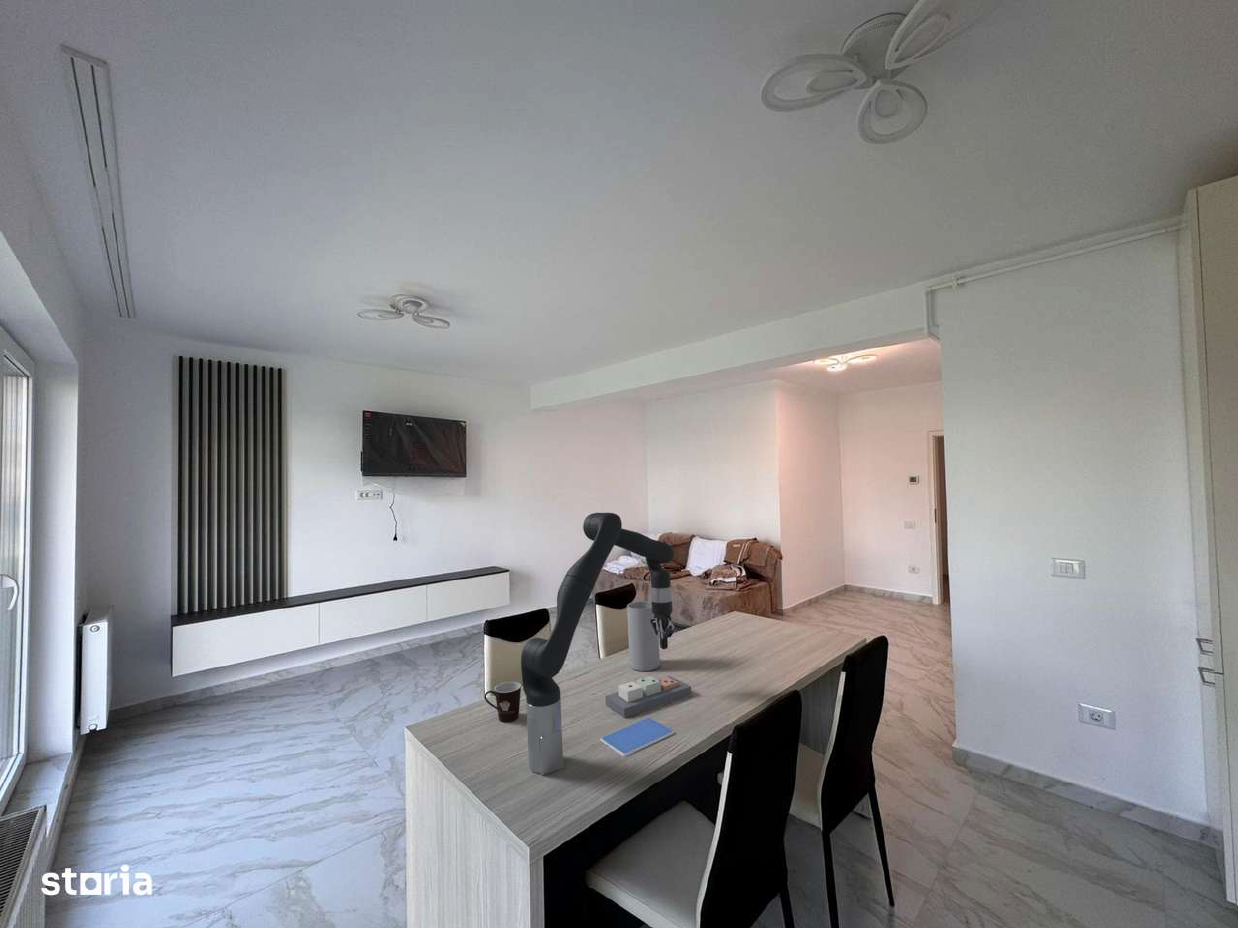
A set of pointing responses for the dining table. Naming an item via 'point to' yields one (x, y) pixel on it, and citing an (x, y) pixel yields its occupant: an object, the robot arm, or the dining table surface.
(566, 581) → the robot arm
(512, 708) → the coffee mug
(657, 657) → the cylinder vase
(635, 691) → the key one pip
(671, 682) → the key three pips
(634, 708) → the keypad board
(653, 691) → the key two pips
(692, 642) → the dining table surface
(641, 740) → the blue flat rectangular panel
